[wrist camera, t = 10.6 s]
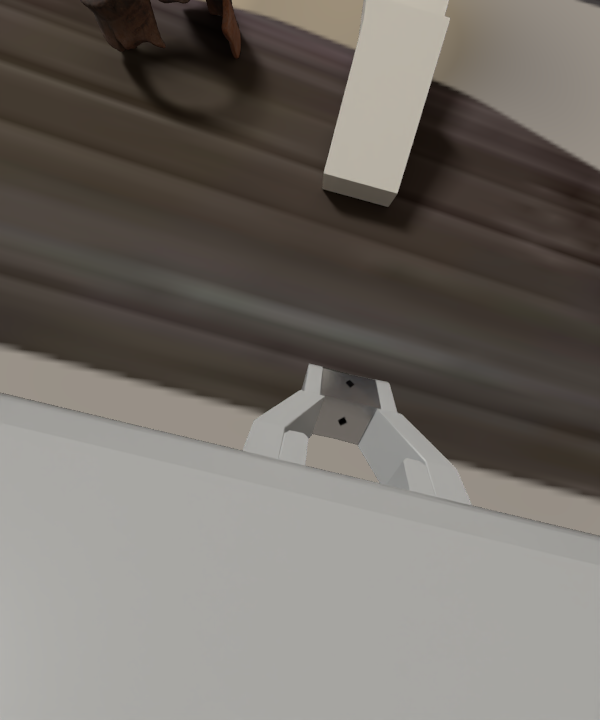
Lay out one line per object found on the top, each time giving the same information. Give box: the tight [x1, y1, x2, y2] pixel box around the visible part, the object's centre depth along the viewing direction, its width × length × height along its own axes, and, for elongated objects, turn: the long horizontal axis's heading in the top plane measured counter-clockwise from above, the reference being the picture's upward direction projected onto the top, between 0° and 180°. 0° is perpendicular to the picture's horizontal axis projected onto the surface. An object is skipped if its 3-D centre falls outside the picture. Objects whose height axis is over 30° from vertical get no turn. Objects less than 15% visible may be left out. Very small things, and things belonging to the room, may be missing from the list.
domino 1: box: [322, 0, 450, 207], centre depth 17 cm, size 2×5×10 cm
